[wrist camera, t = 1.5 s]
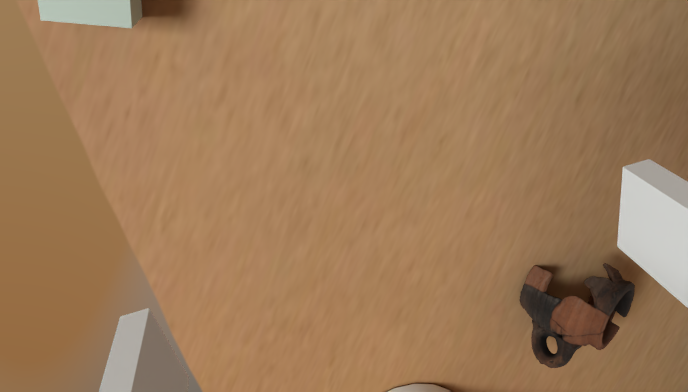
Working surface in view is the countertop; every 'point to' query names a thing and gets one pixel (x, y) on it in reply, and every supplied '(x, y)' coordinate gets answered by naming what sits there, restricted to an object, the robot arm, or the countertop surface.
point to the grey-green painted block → (92, 12)
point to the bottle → (420, 388)
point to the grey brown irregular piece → (574, 314)
